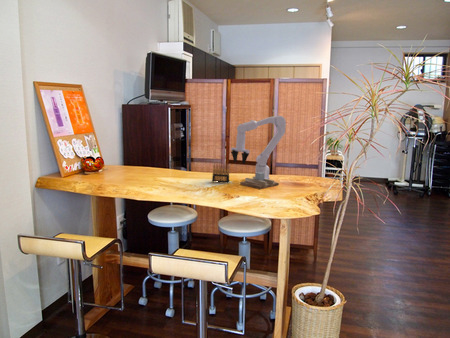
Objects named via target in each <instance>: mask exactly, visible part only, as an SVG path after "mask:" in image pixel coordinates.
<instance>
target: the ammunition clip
mask: <svg viewBox="0 0 450 338" xmlns="http://www.w3.org/2000/svg"><path fill="white" fill-rule="evenodd" d="M212 166H213V167H212V168H213V169H212V177H211V180H212V181H218V182H217V183H220V182H229V183H230V164H229V163H225V164H224V163H222V164H221V163H219V164H218V163H215V162H214V163H213V165H212ZM212 181H211V182H212Z"/></svg>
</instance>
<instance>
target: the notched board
mask: <svg viewBox="0 0 450 338" xmlns="http://www.w3.org/2000/svg"><path fill="white" fill-rule="evenodd" d="M239 184H241V185H242V186H246V187H250V188H254V189H258V190H262V189H268V188H271V187H277V186H279V185H280V183H279V182H277V181H275V180H273V179H264V181H260V180H255V175H254V176H252V178H250V177H245V179H244V181H240V182H239Z"/></svg>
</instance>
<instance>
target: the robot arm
mask: <svg viewBox="0 0 450 338" xmlns="http://www.w3.org/2000/svg"><path fill="white" fill-rule="evenodd" d="M286 121H287V120H286V118H285V117H284V116H282V115H275V116H269V117H266V118H263V119H261V120H257V121H256V120H253V119H251V120H249V121H248V122H243V123H240V124H238V125H237V126H236V130H237V132H236V141H235V142H236V143H235V144H236V145H235V147H231V148H230V150H231V151H230V153H231V156H232V159H233V162H234V163H236V162H237V161H238V154H239V153H240V152H241V157H242V158H241V164H243V165H244V164H246V161H247V159H248V157H249V155H250V149H246V148H245V147H246V132H250V131H253V130H256V129H257V128H258V127H260V126H263V125H267V124H273V125H275V127H276V132H275V134H274V135H273V137H272V138H271V139H270V141H269V142H268V144H267V145H266V146H265V148H264V149H263V151H261V153H260V154H259V155H257V156H256V158H255V161H256V164H255V173H257V172H262V173H265V174H264V179H269V180H271V177H270V167H269V166H268V165H267V163H268V160H269V157H270V155H271V153H272V152H273V151H274V149H275V148H276V147H277V145H278V144H279V142H280V141H281V139H282V138H283V137H284V135H285V133H286V126H287V125H286V124H287V122H286Z"/></svg>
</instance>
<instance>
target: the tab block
mask: <svg viewBox="0 0 450 338" xmlns="http://www.w3.org/2000/svg"><path fill="white" fill-rule="evenodd" d="M264 174H265V173H262V172H257V173H255V175H254V176H255V180H260V181H264Z"/></svg>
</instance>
